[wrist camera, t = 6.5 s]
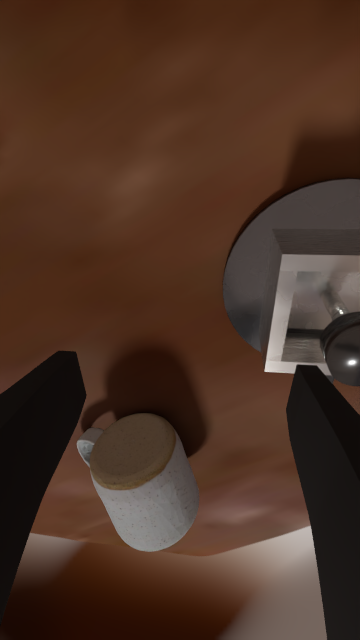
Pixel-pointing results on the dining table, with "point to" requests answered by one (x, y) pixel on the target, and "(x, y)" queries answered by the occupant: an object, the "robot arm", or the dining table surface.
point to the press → (290, 267)
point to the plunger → (331, 318)
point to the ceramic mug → (142, 479)
